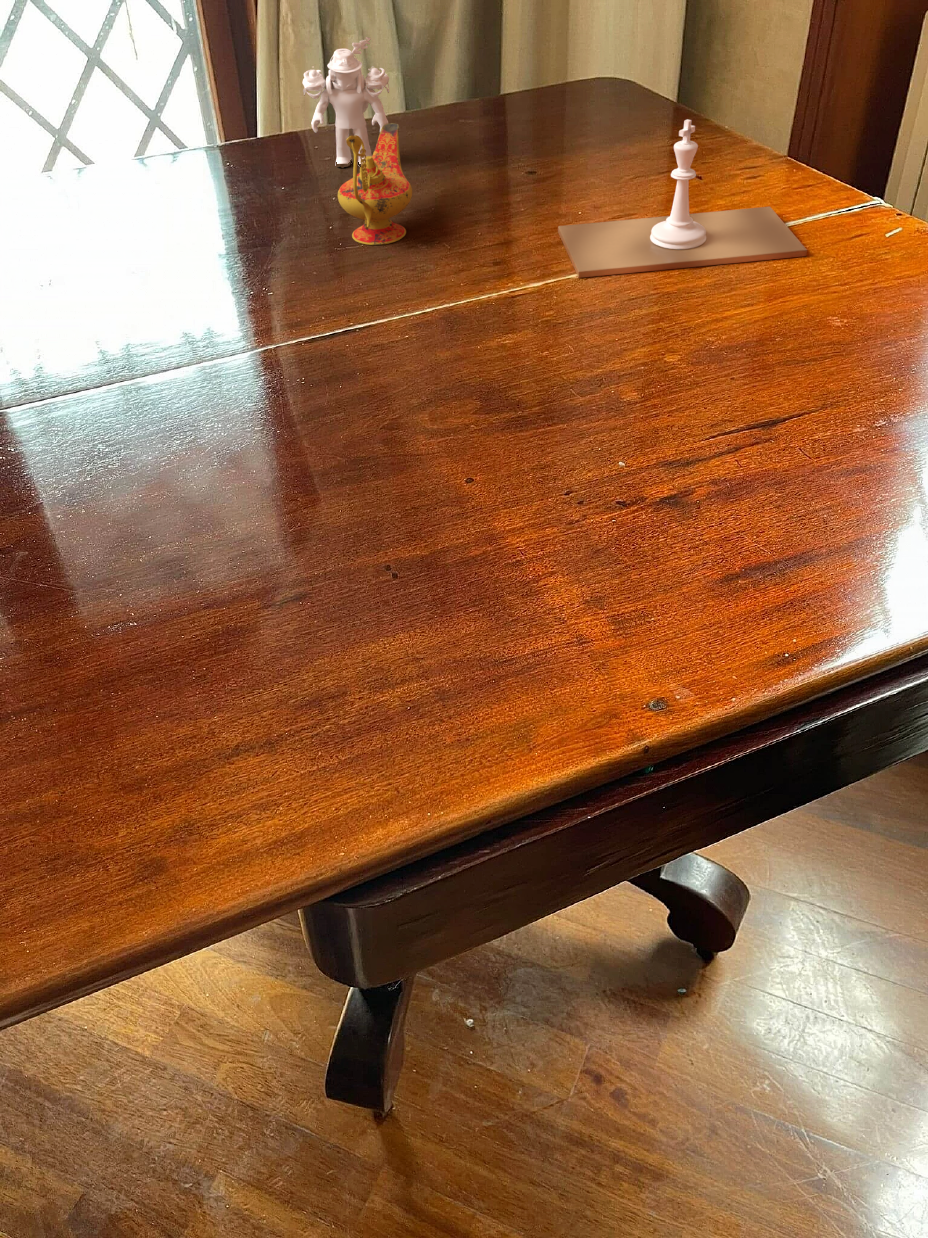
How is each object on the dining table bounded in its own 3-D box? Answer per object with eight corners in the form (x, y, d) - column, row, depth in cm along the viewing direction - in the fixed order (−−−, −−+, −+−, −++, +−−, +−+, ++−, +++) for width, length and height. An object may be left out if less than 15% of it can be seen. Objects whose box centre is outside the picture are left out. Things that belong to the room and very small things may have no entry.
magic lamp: (432, 191, 110) (424, 73, 103) (401, 267, 97) (390, 138, 90) (365, 191, 111) (353, 74, 104) (326, 266, 98) (308, 139, 90)
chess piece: (717, 235, 97) (730, 117, 91) (685, 254, 95) (695, 134, 88) (671, 222, 100) (680, 107, 93) (638, 240, 97) (645, 122, 91)
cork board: (769, 212, 102) (770, 206, 102) (806, 256, 95) (807, 249, 94) (557, 232, 101) (557, 225, 101) (578, 278, 94) (578, 271, 93)
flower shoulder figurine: (397, 155, 118) (387, 33, 110) (394, 168, 115) (382, 43, 108) (315, 157, 119) (299, 36, 111) (309, 170, 116) (292, 47, 108)
